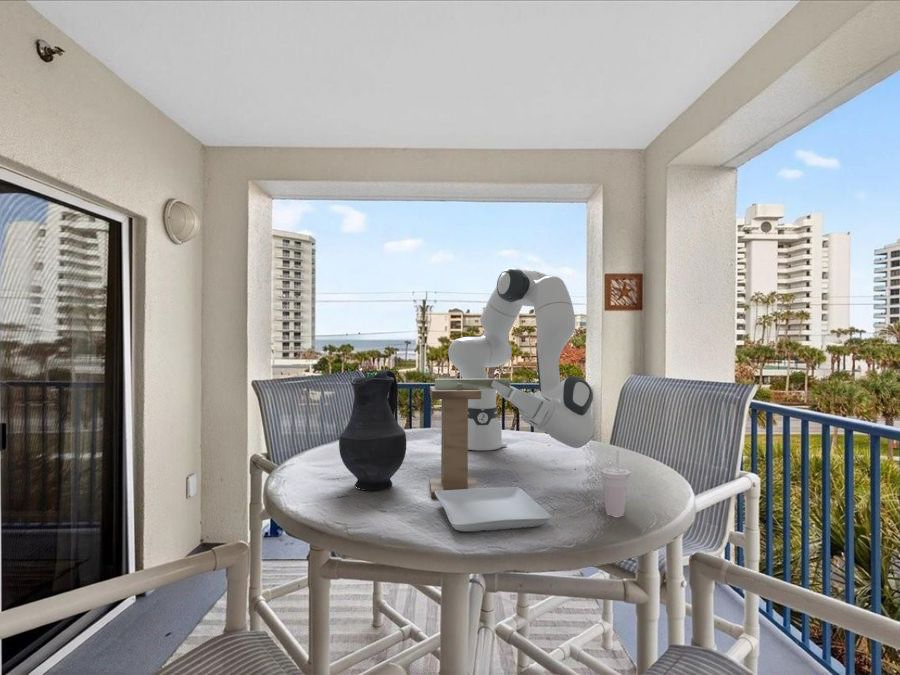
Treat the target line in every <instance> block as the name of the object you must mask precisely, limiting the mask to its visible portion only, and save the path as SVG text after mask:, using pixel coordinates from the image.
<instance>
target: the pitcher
mask: <svg viewBox="0 0 900 675" xmlns="http://www.w3.org/2000/svg"><path fill="white" fill-rule="evenodd" d="M349 380H350V384H351V386H352V387H353V393H354V394H353V395H354V396H353V405H352V412H351V414H350V418H349V421H348V422H347V425H346V427H345V428H344V429H343V431H341V433H340V434H339V438H338V449H339V450H338V452H339V456H340V459H341V461H342V463H343V465H344V466H345V468H346V469H347V470H348V471H349V472H350V473H351V474H352V475H353V476H354V477H355V479H356V482H355V484H354V487H355V486H356V487H357V488H360V489H364V490H376V491H383V490H382V489H384V490H387V489H389V488H391V487H392V486H393V482H392V480H391V479H392V477H393V476H394V475H395V474H396V473H397V472H398V470H399V469H400V467H401V466H402V465H403V462H404V460H405V457H406V454H407V453H406V452H407V434H406V431H405V429H403V428H402V427H401V425H400V424H399V423H398V422H397V420H396V418H395V412H396V408H397V407H396V406H397V401H398V400H397V399H398V389H399V388H398V387H399V386H398V380H397V376H396V374H395V373H394V372H393V371H392V370H390V369H381V370H380V371H378V372H377V373H376V374H374V375H373V376H361V377H353V376H351V377H350V378H349ZM357 488H356V489H357ZM364 490H363V491H364Z"/></svg>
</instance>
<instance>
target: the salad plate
mask: <svg viewBox="0 0 900 675" xmlns="http://www.w3.org/2000/svg"><path fill="white" fill-rule="evenodd" d="M435 495H436V497H437V498H436V499H437V500H438V501H439V503H440V504H441V506H442V507H443V509H444V510H445V514H446V517H447V519H448V521H449V522H450V525H451V527H452V528H453V529H455V530H457V531H460V532H482V531H481V530H486V531H497V530H498V531H499V529H500V530H508V529H510V530H511V528H512V529H522V527H524V528H530V527H531V528H532V527H538V526H542V525H544V524H546V523H548V522H549V521H550V520H551V519H552V515H551V514H550V513H548V511H547V510H545V509H544V508H543V507H542V506H541V505H540V504H539V503H537V502H536V500H534V499H533V498H532V497H531V496H530V495H529V494H527V492H525V491H524V490H523V489H522V488H520V487H518V486H514V487H513V486H511V487H509V486H507V487H479V488H476V489H459V490H445V491H435Z"/></svg>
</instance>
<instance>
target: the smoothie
mask: <svg viewBox="0 0 900 675" xmlns="http://www.w3.org/2000/svg"><path fill="white" fill-rule="evenodd" d="M615 461H616V467H612V466H611V467H603V468H600V471H599V474H600V476H601V482H602V483H601V484H602V489H603V490H602V491H603V497H604V499H603V500H604V506H605V514H606V513H607V514H609V515H614V516H620V515H623V514H625V507H626V499H627V492H628V487H629V486H628V485H629V479H630V478H631V471H630V470H627V469H625V468H620V451H619V450H616V460H615ZM607 514H606V515H607ZM623 516H624V515H623Z"/></svg>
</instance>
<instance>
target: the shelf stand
mask: <svg viewBox="0 0 900 675" xmlns="http://www.w3.org/2000/svg"><path fill="white" fill-rule="evenodd" d="M429 396H430V397H431V400H441V434H440V435H441V437H440V438H441V440H440V441H441V442H440V443H441V447H440V448H441V449H440V450H441V452H440V453H441V454H440V456H441V461H440V462H441V464H440V465H441V467H440V468H441V469H440V471H441V472H440V473H441V474H440V477H429V483H428V484H429V490H430V497H431V499H437V497H436V495H435V491H445V490H459V489H476V488H480V487H479V484H478V483H477V480H476V478H475V477H472V476H471V477H468V474H469V473H468V466H469V462H468V461H469V460H468V459H469V458H468V454H469V451H468V450H469V449H468V399H481V390H479V389H462V384H461V383H458V384H457V389H435V385H434V386H433V385H432V386H431V385H430V386H429Z"/></svg>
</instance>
